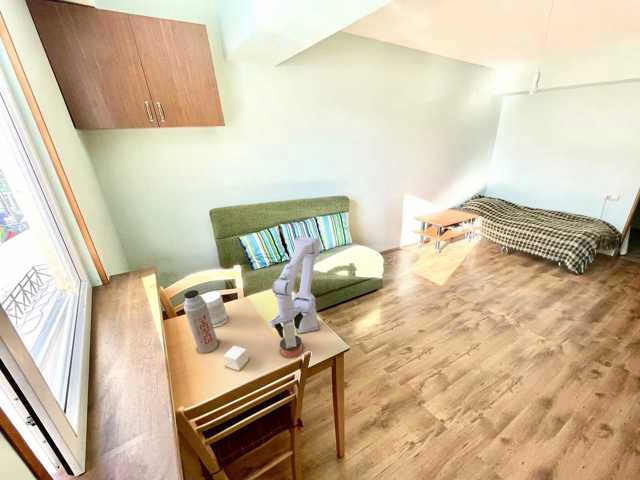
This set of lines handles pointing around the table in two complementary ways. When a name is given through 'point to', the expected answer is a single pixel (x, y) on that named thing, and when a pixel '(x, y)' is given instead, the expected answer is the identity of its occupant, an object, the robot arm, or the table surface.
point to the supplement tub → (215, 308)
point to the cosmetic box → (289, 334)
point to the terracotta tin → (293, 350)
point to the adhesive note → (236, 357)
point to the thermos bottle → (200, 322)
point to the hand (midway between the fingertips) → (289, 332)
